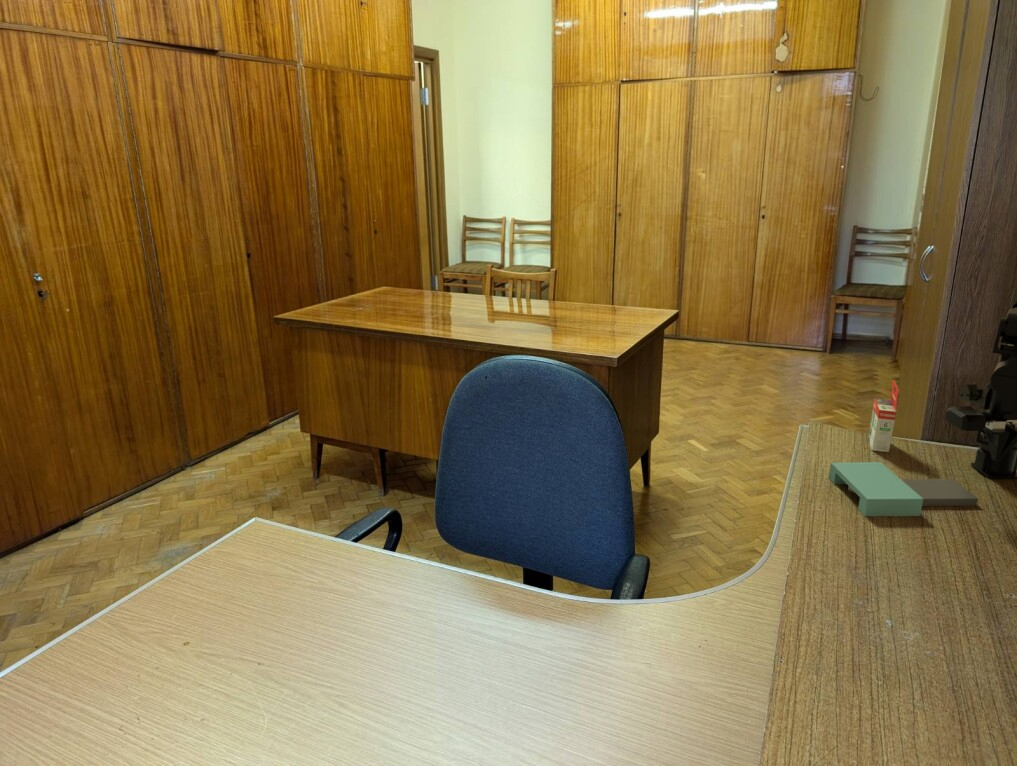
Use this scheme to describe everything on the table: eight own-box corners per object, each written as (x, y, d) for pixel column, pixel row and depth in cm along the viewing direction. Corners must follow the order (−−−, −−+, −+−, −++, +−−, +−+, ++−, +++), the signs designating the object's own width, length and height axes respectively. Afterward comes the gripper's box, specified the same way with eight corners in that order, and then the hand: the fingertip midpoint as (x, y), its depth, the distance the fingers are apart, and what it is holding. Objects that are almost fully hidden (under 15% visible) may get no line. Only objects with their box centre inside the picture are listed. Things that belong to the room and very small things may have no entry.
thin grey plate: (951, 485, 135) (952, 479, 135) (976, 505, 128) (978, 498, 127) (894, 486, 136) (896, 479, 135) (917, 505, 128) (918, 498, 128)
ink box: (871, 451, 152) (881, 388, 147) (866, 437, 159) (876, 377, 154) (889, 453, 150) (900, 390, 146) (884, 439, 157) (894, 379, 153)
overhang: (878, 477, 139) (880, 462, 138) (919, 515, 125) (923, 498, 124) (828, 478, 139) (830, 462, 138) (864, 516, 125) (867, 499, 124)
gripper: (1034, 367, 132) (1016, 442, 137) (935, 369, 132) (921, 443, 137) (1078, 386, 121) (1057, 466, 126) (971, 388, 122) (955, 467, 127)
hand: (995, 459), depth 129 cm, fingers closed
